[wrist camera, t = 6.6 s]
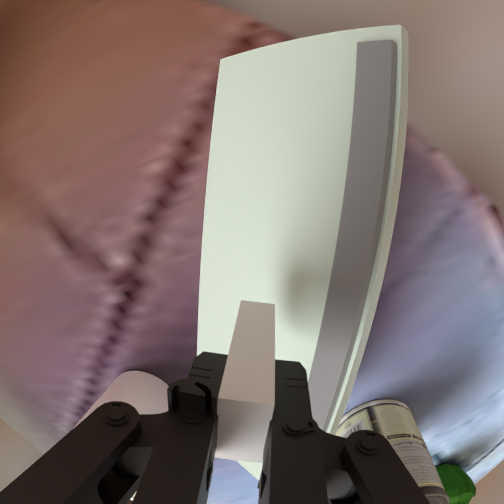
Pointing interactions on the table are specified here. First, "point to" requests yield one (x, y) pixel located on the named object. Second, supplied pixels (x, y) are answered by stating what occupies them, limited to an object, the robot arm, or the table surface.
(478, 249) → the table surface
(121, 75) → the table surface
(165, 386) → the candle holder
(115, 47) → the table surface
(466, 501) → the bell pepper
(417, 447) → the coffee can
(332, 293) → the pale green rectangular panel
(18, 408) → the table surface
